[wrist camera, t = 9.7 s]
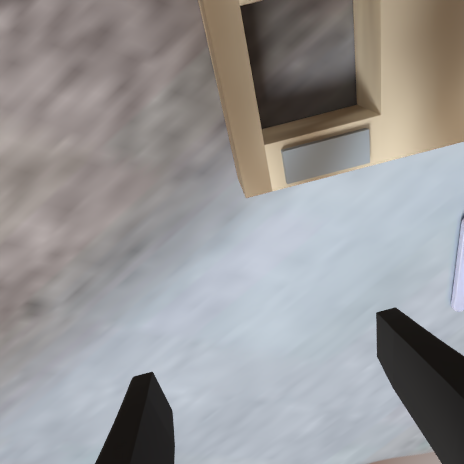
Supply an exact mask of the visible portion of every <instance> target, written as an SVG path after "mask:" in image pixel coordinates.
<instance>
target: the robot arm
mask: <svg viewBox="0 0 464 464" xmlns="http://www.w3.org/2000/svg"><path fill="white" fill-rule="evenodd" d="M451 307H452V308H453V309H454V310H455V311H457V312H458V311H463V310H464V218H463V220H462V223H461V230H460V238H459V245H458V253H457V261H456V269H455V277H454V285H453V293H452V301H451ZM376 319H377V357H378V359H379V361H380V363H381V365H382V367H383V369H384V371H385V373H386V375H387V377H388V379H389V381H390V383H391V385H392V387H393V389H394V390H395V392H396V393H397V395H398V396H399V398H400V400H401V401H402V403H403V404H404V406H405V407H406V409H407V410H408V412H409V413H410V415H411V417H412V418H413V420H414V421H415V423H416V424H417V426H418V427H419V429H420V430H421V432H422V433H423V435H424V436H425V438H426V440H427V441H428V443H429V444H430V446H431V447H432V449H433V450H434V452H435V453H436V455H437V456H438V458H439V460H440V461H441V463H442V464H464V356H463V355H461V354H460V353H458V352H457V351H456V350H454V349H453V348H451V347H450V346H448V345H447V344H445V343H444V342H442V341H441V340H440V339H438V338H437V337H435V336H434V335H433V334H431V333H430V332H428V331H427V330H426V329H424V328H423V327H421V326H420V325H419V324H417V323H416V322H415V321H413V320H412V319H411V318H409V317H408V316H407V315H405V314H404V313H403V312H401V311H400V310H398V309H397V308H392V309H388V310H384V311H380V312H377V313H376ZM174 453H175V442H174V426H173V413H172V409H171V407H170V405H169V403H168V401H167V399H166V397H165V395H164V393H163V391H162V389H161V387H160V385H159V383H158V381H157V379H156V377H155V375H154V373H153V372H149V373H146V374H142V375H138V376H134V377H133V378H132V380H131V382H130V385H129V387H128V390H127V392H126V395H125V397H124V400H123V402H122V405H121V407H120V410H119V412H118V414H117V417H116V419H115V421H114V424H113V426H112V428H111V430H110V433H109V435H108V437H107V439H106V441H105V444H104V446H103V448H102V450H101V452H100V454H99V456H98V459H97V461H96V463H95V464H174Z"/></svg>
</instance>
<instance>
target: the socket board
mask: <svg viewBox="0 0 464 464" xmlns="http://www.w3.org/2000/svg"><path fill="white" fill-rule="evenodd" d="M259 1H263V0H198V2H199V7H200V11H201V16H202V20H203V24H204V29H205V33H206V38H207V42H208V47H209V51H210V56H211V60H212V64H213V69H214V73H215V78H216V82H217V87H218V91H219V96H220V100H221V105H222V109H223V113H224V118H225V122H226V127H227V131H228V136H229V140H230V145H231V149H232V153H233V158H234V162H235V167H236V171H237V176H238V180H239V182H240V185H241V187H242V189H243V192H244V194H245V197H246V198H249V197H253V196H256V195H260V194H264V193H268V192H272V191H276V190H279V189H283V188H287V187H291V186H295V185H299V184H302V183H306V182H310V181H314V180H318V179H322V178H326V177H329V176H333V175H337V174H341V173H345V172H349V171H352V170H356V169H360V168H364V167H368V166H372V165H376V164H379V163H383V162H387V161H391V160H395V159H399V158H402V157H406V156H410V155H414V154H418V153H422V152H426V151H429V150H433V149H437V148H441V147H445V146H449V145H452V144H456V143H460V142H464V0H353V15H354V41H355V67H356V93H357V105H354V106H350V107H346V108H342V109H338V110H335V111H331V112H327V113H323V114H319V115H315V116H311V117H308V118H304V119H300V120H296V121H292V122H288V123H284V124H280V125H277V126H273V127H269V128H265V129H261V123H260V117H259V112H258V106H257V100H256V95H255V89H254V83H253V78H252V72H251V66H250V61H249V55H248V49H247V43H246V38H245V32H244V26H243V21H242V15H241V9H240V6H243V5H247V4H251V3H255V2H259Z"/></svg>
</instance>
